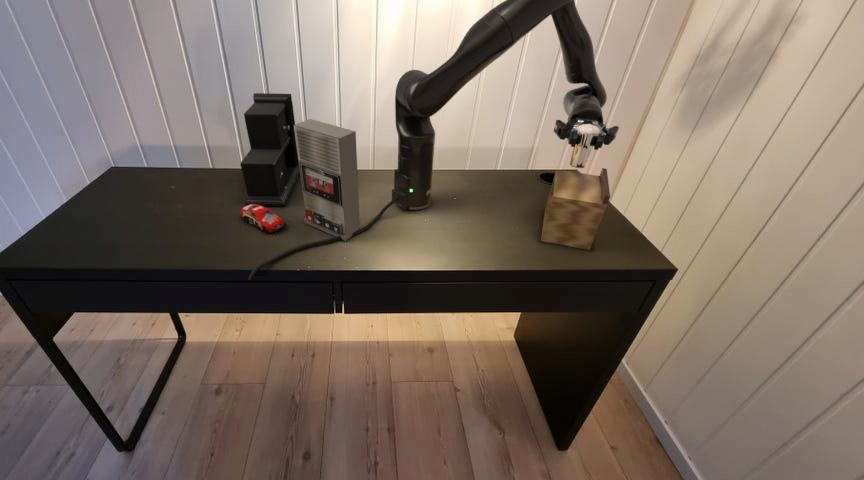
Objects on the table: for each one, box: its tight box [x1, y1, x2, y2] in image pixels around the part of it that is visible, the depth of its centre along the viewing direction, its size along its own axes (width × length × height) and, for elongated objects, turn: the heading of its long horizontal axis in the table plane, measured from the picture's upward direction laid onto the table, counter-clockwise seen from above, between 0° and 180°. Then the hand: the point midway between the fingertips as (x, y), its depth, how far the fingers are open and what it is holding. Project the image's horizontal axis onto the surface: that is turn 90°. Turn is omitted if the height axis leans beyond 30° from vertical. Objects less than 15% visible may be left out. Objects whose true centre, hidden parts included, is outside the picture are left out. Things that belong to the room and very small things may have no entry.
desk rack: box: [540, 167, 611, 251], centre depth 98 cm, size 11×15×14 cm
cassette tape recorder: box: [294, 118, 362, 242], centre depth 95 cm, size 14×6×25 cm, turn 53°
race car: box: [240, 204, 285, 234], centre depth 103 cm, size 13×5×4 cm, turn 49°
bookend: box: [239, 92, 300, 207], centre depth 113 cm, size 23×11×24 cm, turn 178°
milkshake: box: [569, 121, 608, 169], centre depth 89 cm, size 4×5×10 cm
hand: (585, 143), depth 87 cm, fingers closed on milkshake, 4 cm apart
